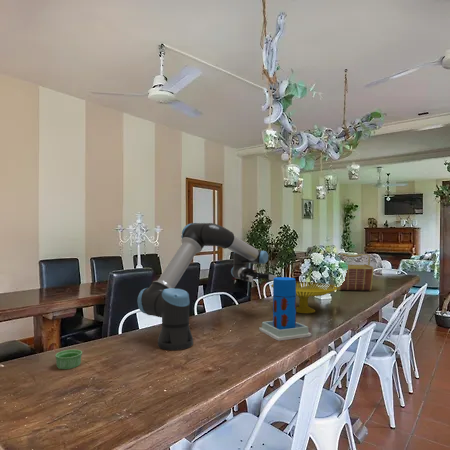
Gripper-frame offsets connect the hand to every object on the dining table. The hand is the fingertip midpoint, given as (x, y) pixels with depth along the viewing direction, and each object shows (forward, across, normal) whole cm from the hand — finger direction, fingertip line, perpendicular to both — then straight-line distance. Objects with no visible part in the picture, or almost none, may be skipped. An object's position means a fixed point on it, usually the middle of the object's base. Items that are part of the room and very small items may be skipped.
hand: (263, 278), depth 185 cm
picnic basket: (-73, -122, -22) cm, 145 cm away
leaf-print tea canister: (+16, -3, -23) cm, 28 cm away
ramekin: (+22, +92, -26) cm, 98 cm away
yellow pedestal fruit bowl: (-22, -40, -24) cm, 51 cm away
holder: (+16, -3, -24) cm, 29 cm away
